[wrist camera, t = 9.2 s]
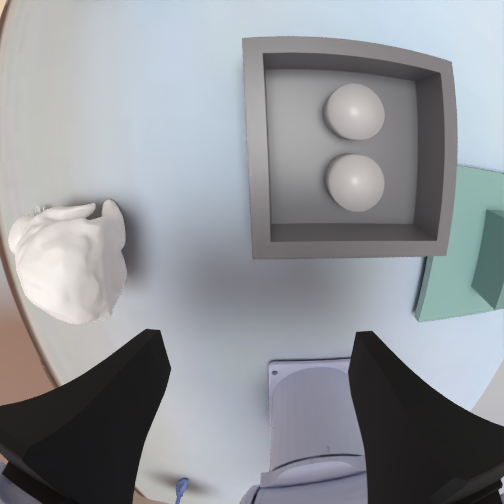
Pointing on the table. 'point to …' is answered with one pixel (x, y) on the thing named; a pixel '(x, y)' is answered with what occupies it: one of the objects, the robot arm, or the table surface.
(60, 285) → the white lumpy piece
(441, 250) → the storage box
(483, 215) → the lid
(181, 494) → the baby rattle
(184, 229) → the table surface
